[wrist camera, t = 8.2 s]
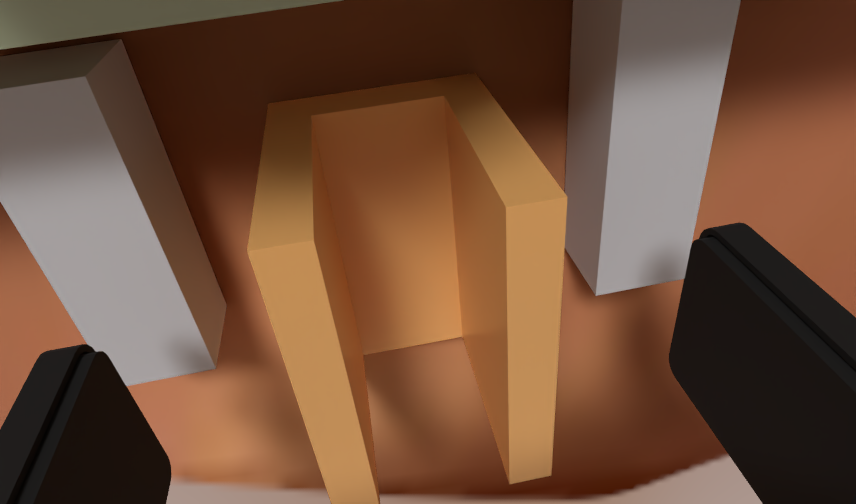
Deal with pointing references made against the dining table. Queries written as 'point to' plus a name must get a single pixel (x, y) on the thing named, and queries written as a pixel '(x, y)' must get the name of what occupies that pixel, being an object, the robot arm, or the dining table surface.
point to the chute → (409, 261)
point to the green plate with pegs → (172, 222)
